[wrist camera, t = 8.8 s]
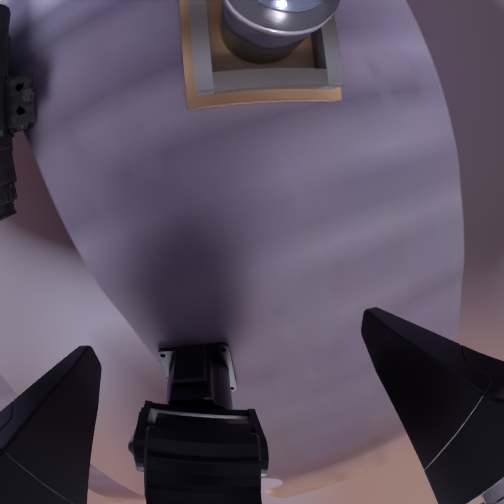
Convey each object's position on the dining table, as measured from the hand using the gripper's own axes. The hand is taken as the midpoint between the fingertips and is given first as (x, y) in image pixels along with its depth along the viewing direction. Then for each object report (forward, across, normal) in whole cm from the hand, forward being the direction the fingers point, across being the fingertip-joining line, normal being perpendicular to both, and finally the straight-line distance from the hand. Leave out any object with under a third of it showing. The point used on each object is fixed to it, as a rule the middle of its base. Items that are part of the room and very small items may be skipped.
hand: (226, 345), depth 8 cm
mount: (+13, -4, -13) cm, 19 cm away
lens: (+12, -4, -13) cm, 18 cm away
